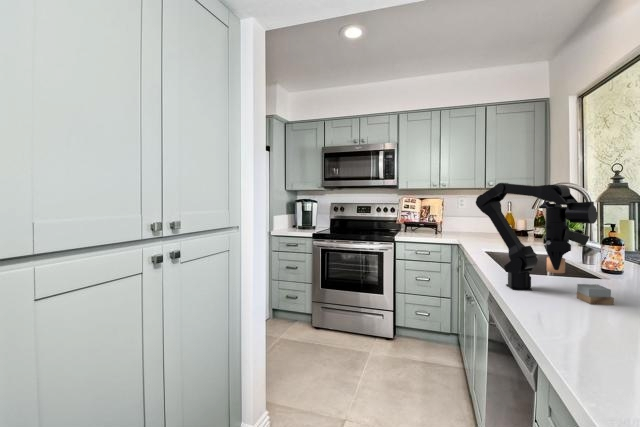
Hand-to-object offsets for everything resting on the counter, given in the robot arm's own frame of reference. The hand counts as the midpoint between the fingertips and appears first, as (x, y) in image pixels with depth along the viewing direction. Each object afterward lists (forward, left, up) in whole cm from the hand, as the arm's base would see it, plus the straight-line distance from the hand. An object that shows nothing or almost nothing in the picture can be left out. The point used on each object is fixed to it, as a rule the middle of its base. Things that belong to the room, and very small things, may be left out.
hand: (555, 268), depth 107 cm
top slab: (+9, -4, -8) cm, 12 cm away
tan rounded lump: (0, 0, -1) cm, 1 cm away
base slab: (+9, -4, -10) cm, 14 cm away
